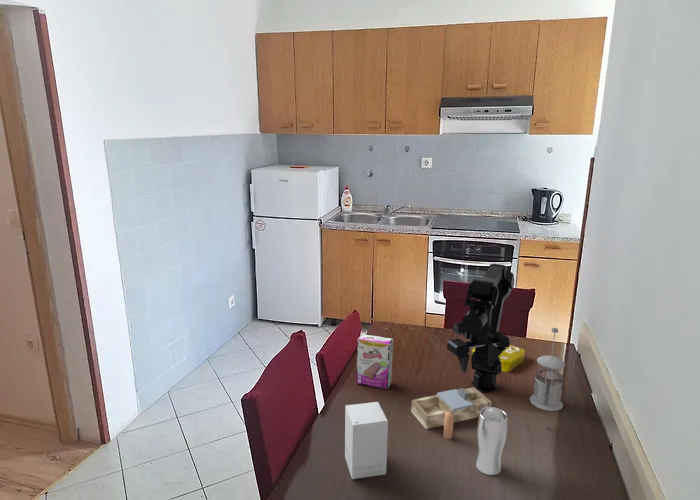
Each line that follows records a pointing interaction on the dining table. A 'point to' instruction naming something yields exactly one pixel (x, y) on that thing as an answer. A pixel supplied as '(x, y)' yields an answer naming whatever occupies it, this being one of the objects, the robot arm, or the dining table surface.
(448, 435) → the peg
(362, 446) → the supplement box
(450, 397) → the lid
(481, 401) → the wooden compartment tray
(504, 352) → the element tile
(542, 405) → the french press
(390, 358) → the candy bar box
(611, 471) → the dining table surface
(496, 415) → the beer glass
